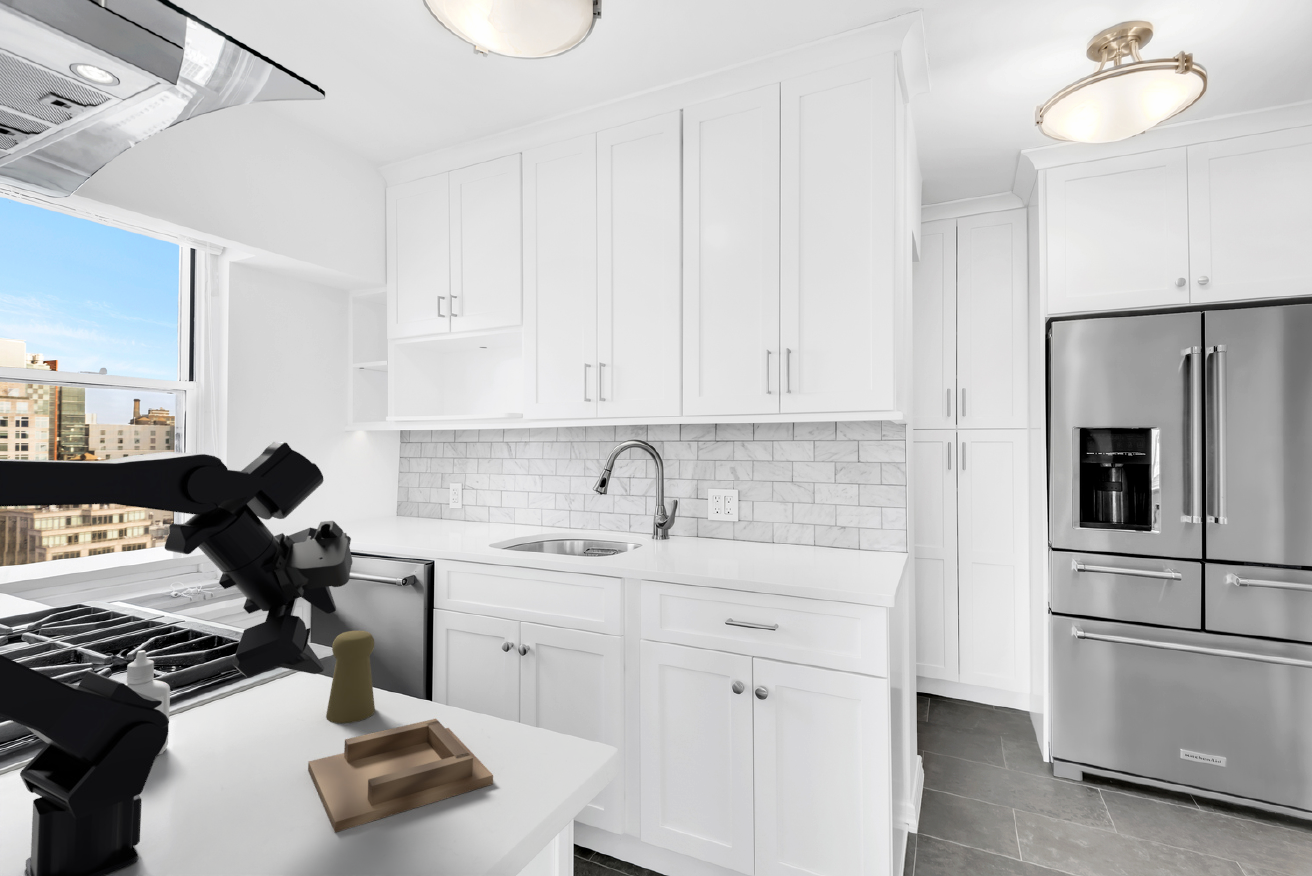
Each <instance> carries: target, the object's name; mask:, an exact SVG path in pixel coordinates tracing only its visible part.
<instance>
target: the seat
mask: <svg viewBox="0 0 1312 876" xmlns="http://www.w3.org/2000/svg"><path fill="white" fill-rule="evenodd" d="M343 751H344V752H342V753H337V754H334V755H329V756H326V757H322V758H318V759H314V760H309V761H308V763H307V771H308V773H309V775H310V778H311V780H312V782H313V785H314V787H315V789H316V792H317V794H318V796H319V799H320V801H321V803H322V806H323V808H324V810H325V812H326V815H327V818H328V819H329V820H328V821H329V822H330V824H331V827H332V829H333V831H334V833H338V832H342V831H345V830H347V829H351V828H355V827H357V826H361V825H364V824H367V823H370V822H373V821H374V822H375V821H377V820H381V819H383V818H387V817H390V816H394V815H396V814H400V813H403V812H407V811H410V810H412V809H413V810H414V809H416V808H419V807H422V806H426V805H428V804H432V803H436V802H438V801H442V800H446V799H448V798H452V797H455V796H458V795H462V794H465V793H468V792H473V791H474V790H478V789H482V788H484V787H487V786H490V785H493V784H494V774H493V773H492V772H491V771H490V770H489V769H488V768H487V767H486V766H485V765H484V763H482V761H481V760H480V759H479V758H478V757H477V756H476V755H475V754H474V753H473V752H472V751H471V750H470V749H469V748H468V747H467V745H465V743H463V741H462V740H461V739H460V738H459V737H458V735H456V734H455V733H454V732H453V731H452V730H451V729H450V727H445V726H444V725H443V724H442V723H441V722H440V721H439V720H438V719H437V718H432V719H428V720H424V721H419V722H415V723H410V724H406V725H402V726H398V727H394V728H389V729H385V730H380V731H379V730H378V731H376V732H372V733H366V734H363V735H358V736H354V737H350V738H345V739H344V750H343Z"/></svg>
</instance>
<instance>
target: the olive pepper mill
mask: <svg viewBox="0 0 1312 876" xmlns="http://www.w3.org/2000/svg"><path fill="white" fill-rule="evenodd" d="M331 648H332V654H333V656H334V658H335V659H336V660H335V666H334V670H333V675H332V676H333V677H332V682H331V688H330V693H329V698H328V703H327V708H326V709H327V710H326V715H325V717H326V720H328V721H329V722H331V723H335V724H351V723H357V722H359V721H363V720H366V719H368V718H370V717H372V716H373V715H374V714H375V711H376V707H375V697H374V688H373V677H372V668H371V667H372V666H371V658H370V655H371V654H372V653H373V651H374V649H375V638H374V637H373V635H372V633H371V632H368V631H366V630H349V631H344V632H341V633H340V634H338V635H337V636H336V637H335V638H334V641H333V642H332V647H331Z"/></svg>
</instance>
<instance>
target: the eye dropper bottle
mask: <svg viewBox="0 0 1312 876" xmlns="http://www.w3.org/2000/svg"><path fill="white" fill-rule="evenodd" d="M146 653H147V652H146V650H138V651H137V652H136V656H135V659H134V661H132V662H130V663H128V664H127V668H126V669H127V671H126V683H124V684H125V685H127V686H128V687H129V688H131V689H132V690H133V691H136V692H139V693H141V694H144V695H147V696H149V697H152V698H155V699H157V700H160V701H162V704H161V705H159V706H158V707H156V708H155V709H157V710H160V711H161V712H162V713H163V714H165V715H166V716H167V718H168V720H169V721H170V707H171V706H170V703H171V702H170V701H171V687H170V685H169V684H168V683H166V682H165V681H162V680H157V679H154V674H155V673H154V671H155V669H154V668H155V661H154V660H152V659H148V658H147V654H146ZM169 727H170V723H169V724H168V733H169V732H170V731H169ZM168 744H169V734H168V735H167V739H166V742H165V744H164V746H163V747H162V749H161V751H160V752H159V754H158V755H157V756H160V755H162V754H163V753H165V751H166V749H167V747H168Z"/></svg>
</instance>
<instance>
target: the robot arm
mask: <svg viewBox="0 0 1312 876" xmlns="http://www.w3.org/2000/svg"><path fill="white" fill-rule="evenodd" d="M323 482H324V476H323V473H322V471H321V469H320V468H319V467H318V465H317V464H316V463H314V462H312V461H311V460H309V459H308V458H307V457H306V456H304V455H303V454H301V453H300V452H298V451H296V450H293V449H292V447H291V446H290V445H289V444H288V442H281V441H280V442H279V441H273V442H272V443H271V444H269V445H268V446H267V447H266V448H265V449H264V450H263V451H262V452H261V454H260V455H259V456H258V457H256V458H255V459H254V460H252V461H251V462H250V463H249V464H248V465H247V466H245V467H244V468H243V469H241V470H233V469H229V468H228V466H226V464H224V462H223V461H222V459H220V458H219V457H218V456H215V455H210V454H205V453H193V452H192V453H191V452H179V451H178V452H177V451H163V452H162V451H160V452H153V453H144V454H138V455H137V454H136V455H129V456H123V457H118V458H113V459H112V458H111V459H105V460H96V461H94V460H93V461H92V460H90V461H89V460H88V461H87V460H86V461H85V460H54V459H53V460H51V459H19V458H17V459H11V458H10V459H9V458H8V459H7V458H0V507H1V508H2V507H32V506H34V507H36V506H37V507H38V506H39V507H41V506H75V505H76V506H79V505H80V506H82V505H84V506H85V505H117V506H118V505H119V506H126V507H134V508H142V509H149V510H157V511H165V512H172V513H179V514H188V515H189V514H190V515H193V516H192V517H190V518H189V519H188V520H187V521H186V522H183V523H170V524H169V526H168V530H169V532H168V535H167V538H166V541H165V543H164V549H165V550H166V551H168V552H173V553H179V554H184V555H189V554H192V553H193V551H195V550H196V549H198V548H199V550H201V551H202V553H203V554H204V555H205V556H206V557H207V558H208V559H209V560H210V561H211V563H213V564H214V565H215V567H217V568H218V570H220V572H221V573H222V574H221V577H220V579H219V581H218V584H219V585H220V586H221V587H222V588H223V589H224V590H226V589H229V588H232V587H234V586H235V587H236V588H237V590H239V592H241V594H243V595H244V596H245V598H246V599H245V602H244V605H243V609H244V611H246V613H247V614H253V613H255V612H258V611H262V612H267V615H266V617H265V621H264V622H261V623H258V624H255V625H254V626H250V627H248V628H245V629H244V630H243V632H242V635H241V637H240V639H239V642H238V643H239V644H238V646H237V649H236V652H235V655H234V658H233V660H232V663H231V664H232V666H233V667H234V668H236V670H238V671H239V672H240V673H241V674H242V675H244V676H245V677H246V678H248V677H252V676H254V675H256V674H259V673H261V672H264V671H267V670H270V669H272V668H282V669H287V670H293V671H298V672H303V673H307V674H312V675H318V674H319V673H322V672H324V670H325V667H324V665H323V664H322V662H321V659H319V657H318V655H317V654H316V653H315V652H314V650H313V649H312V647H311V646H310V644H309V638H310V634H311V627H309V628H307V627H306V623H305V622H304V620H303V619H302V618H301V617H300V616H298V615H294V612H295V609H296V606H297V601H298V599H300V598H302V599H303V600H305V601H306V602H308V603H309V604H311V605H312V606H314V607H315V608H316V609H319V610H320V611H322V612H323V613H325V614H328V615H329V614H332V613H335V612H336V611H337V606H336V603H335V600H334V597H333V594H332V591H331V589H330V587H333V588H339V587H342V586H345V585H346V584H348V582H349V581H350V576H351V575H350V574H351V569H352V565H353V558H352V553H351V547H350V546H351V541H352V538H351V536H348V534H347V532H344V530H343V529H342V528H341V527H340V526H339V525H338V524H337V523H336V522H335V521H334V520H325V521H320V523H319V524H318V527H317V528H314V527H308V528H305V529H303V530H300V531H297V532H295V533H291V534H289V535H285V534H284V533H283V532H282V533H279V534H276V535H274V534H273V533H272V532H271V531H270V530H269V528H268V527H267V526H266V525H265V524H264V523H263V521H262V520H261V519H263V520H266V521H267V520H268V521H269V520H271V519H272V518H274V519H278V520H285V519H286V518H287V517H288V516H289V515H291V513H293V511H294V510H295V509H297V507H299V506H300V505H301V504H302V503H303V502H304V501H305V500H306V499H308V497H310V496H311V494H313V492H315V491H316V490H317V489H318V488H319V487H320V486H321V485H322V484H323ZM125 684H126V683H124V682H120V681H119V680H115V679H113V678H109V677H107V676H105V675H101V674H100V673H96V672H93V671H91V670H88V671H87V672H86V674H85V675H84V676H83V678H82V679H81V680H80V682H79V684H73V683H66V682H61V681H60V680H56V679H54V678H52V677H50V676H48V675H46V674H43V673H41V672H39V671H37V670H35V669H33V668H30V667H29V666H26V665H24V664H23V663H19V662H17V661H15V660H13V659H11V658H8V657H6V656H4V655H2V654H0V717H1V718H4V719H5V720H8V721H11V722H14V723H16V724H19V725H21V726H24V727H25V728H27V730H29V731H31V733H33V735H35V736H36V737H38V738H39V739H41V740H42V741H43V742H45V743H46V745H45V746H44V747H43V748H41V750H40V751H38V753H37V754H36V755H35V756H34V757H33V758H32V759H31V760H30V761H29V762H28V763H27V764H26V765H25V766H24V767H23V769H21V771H20V772H19V773H20V774H19V776H20V778H21V780H22V782H23V784H24V785H25V788H26V790H27V791H28V792H30V793H31V794H33V793H35V794H36V795H38V796H40V797H36V798H35V799H33V800H32V818H31V819H32V821H31V843H30V845H31V847H30V857H28V858H27V859H26V860H25V868H26V871H27V874H28V876H103V875H105V874H109V873H111V872H113V871H116V870H119V869H121V868H125V867H127V866H129V865H131V864H135V863H136V862H137V861H138V859H139V856H138V855H139V854H138V853H137V851H136V848H135V846H138V844H139V843H140V840H141V821H142V801H143V800H142V798H141V797H140V794H141V793H143V790H144V788H145V785H146V783H147V780H148V777H149V776H150V773H151V770H152V767H153V765H154V762H155V760H156V757H157V756H159V755H158V754H159V752H160V751H161V749H162V747H163V746H164V744H165V742H166V739H167V735H168V736H169V732H168V724H169V725H170V719H169V720H168V718H167V716H166V715H165V714H163V713H162V712H161V711H160V710H157V709H155V708H156V707H158V706H159V705H161V704H162V701H160V700H157V699H155V698H152V697H149V696H147V695H144V694H141V693H139V692H136V691H133V690H132V689H131V688H129V687H128V686H127V685H125Z"/></svg>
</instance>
